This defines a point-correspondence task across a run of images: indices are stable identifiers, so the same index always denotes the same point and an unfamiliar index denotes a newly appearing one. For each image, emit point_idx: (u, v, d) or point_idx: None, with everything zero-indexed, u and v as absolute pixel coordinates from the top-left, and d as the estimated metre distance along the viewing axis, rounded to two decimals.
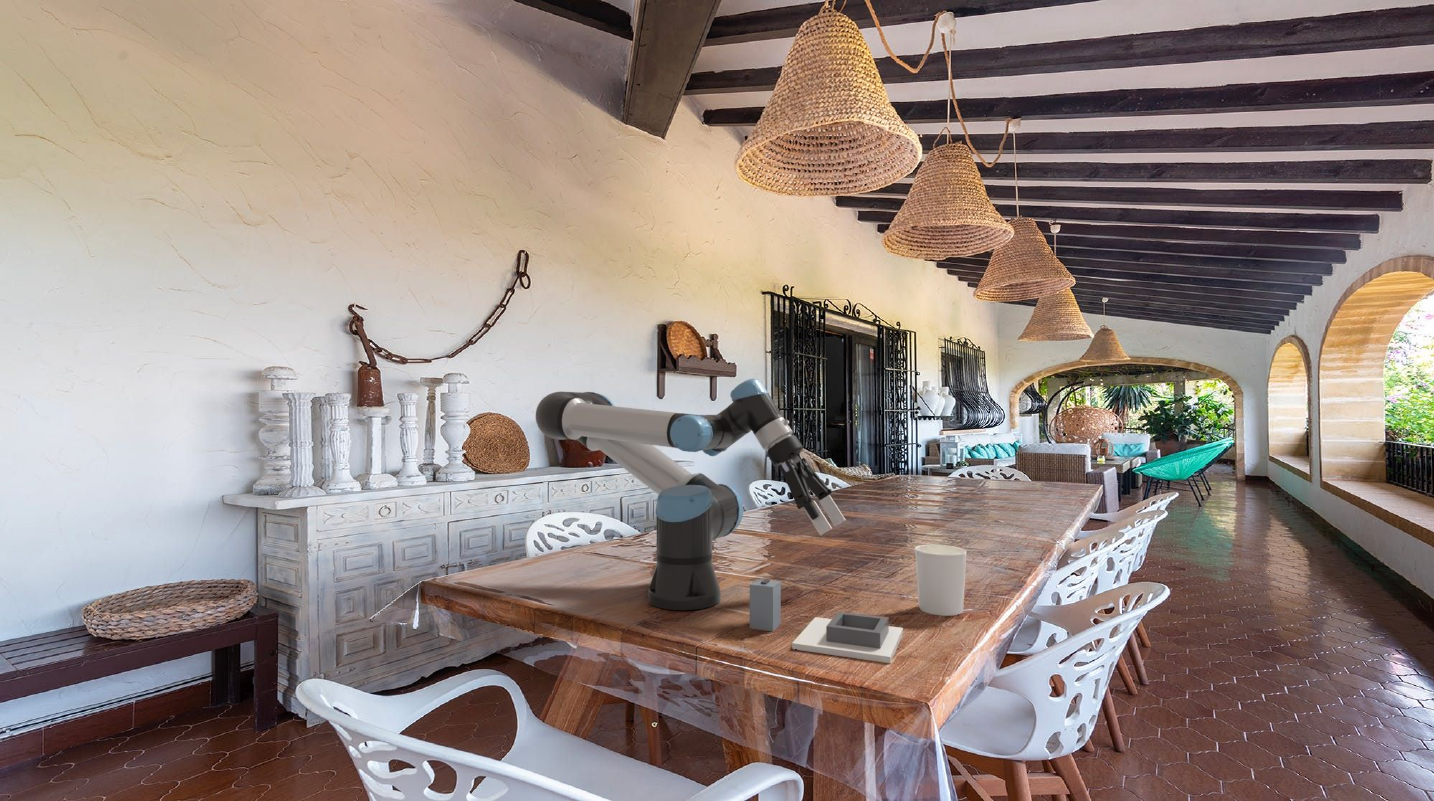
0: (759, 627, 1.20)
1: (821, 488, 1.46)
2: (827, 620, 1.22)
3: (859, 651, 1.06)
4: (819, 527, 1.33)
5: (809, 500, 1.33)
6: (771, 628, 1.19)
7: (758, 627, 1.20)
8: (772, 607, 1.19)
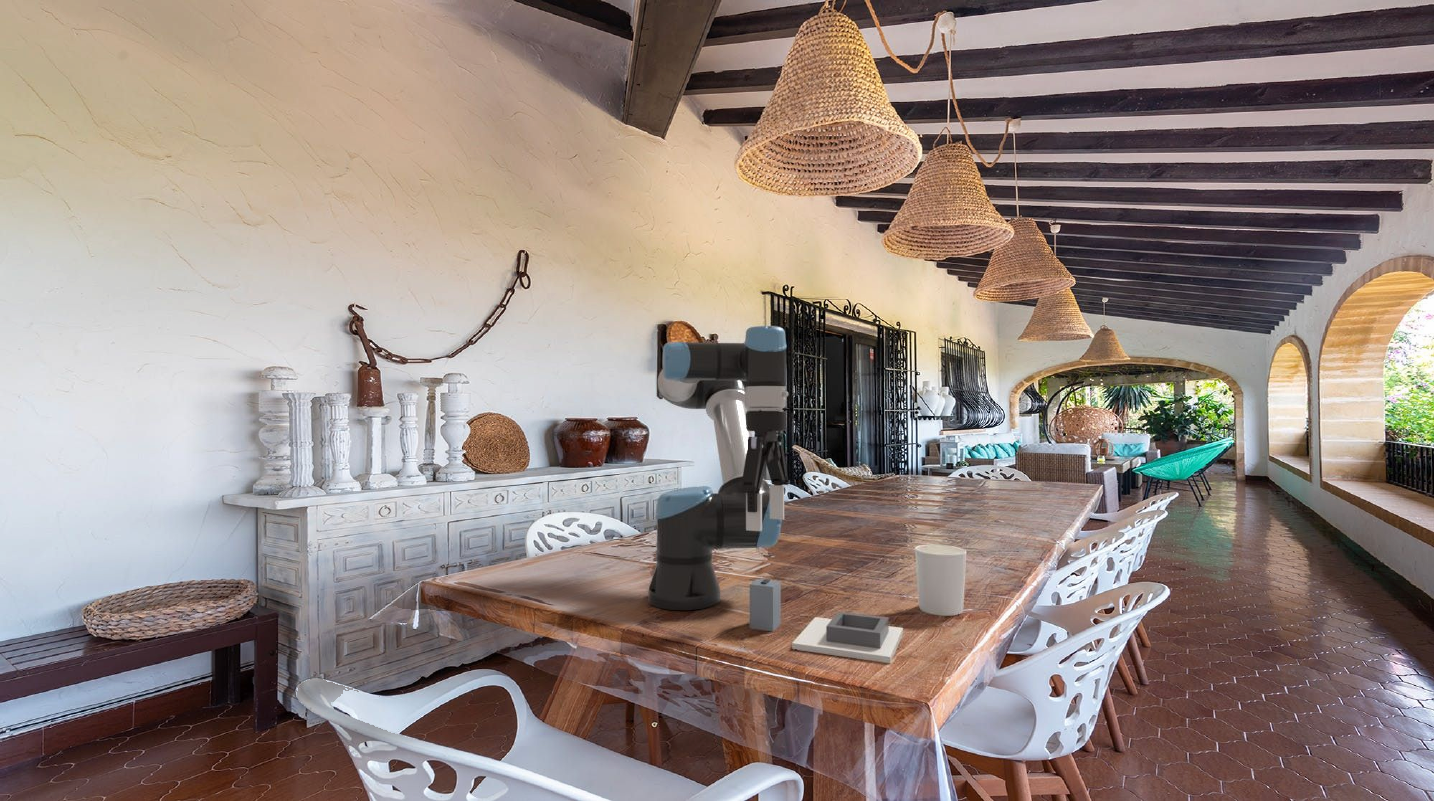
0: (759, 627, 1.20)
1: (779, 475, 1.28)
2: (827, 620, 1.22)
3: (859, 651, 1.06)
4: (750, 522, 1.16)
5: (756, 491, 1.15)
6: (771, 628, 1.19)
7: (758, 627, 1.20)
8: (772, 607, 1.19)
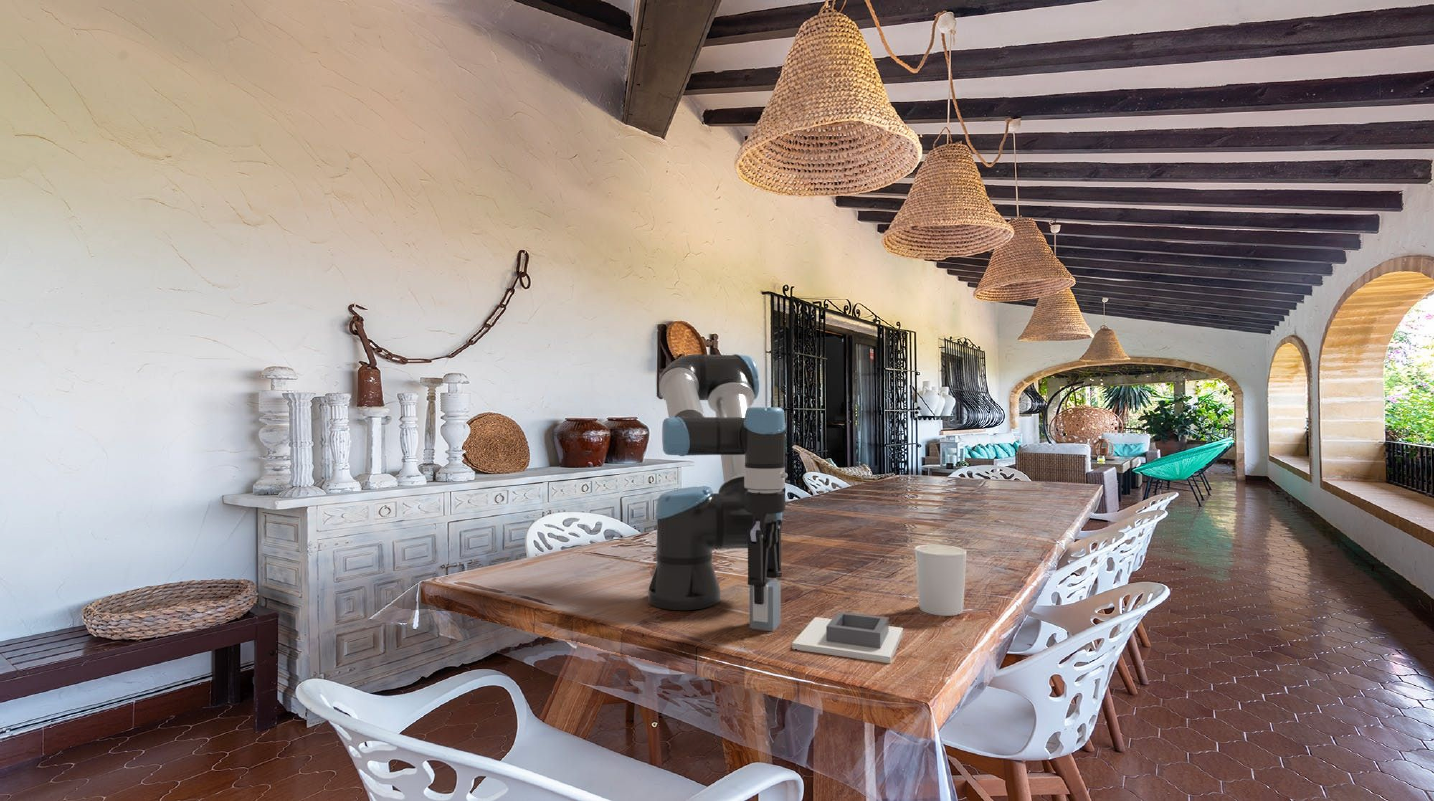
0: (759, 627, 1.20)
1: (773, 564, 1.24)
2: (827, 620, 1.22)
3: (859, 651, 1.06)
4: (756, 612, 1.20)
5: (763, 585, 1.18)
6: (771, 628, 1.19)
7: (758, 627, 1.20)
8: (772, 607, 1.19)
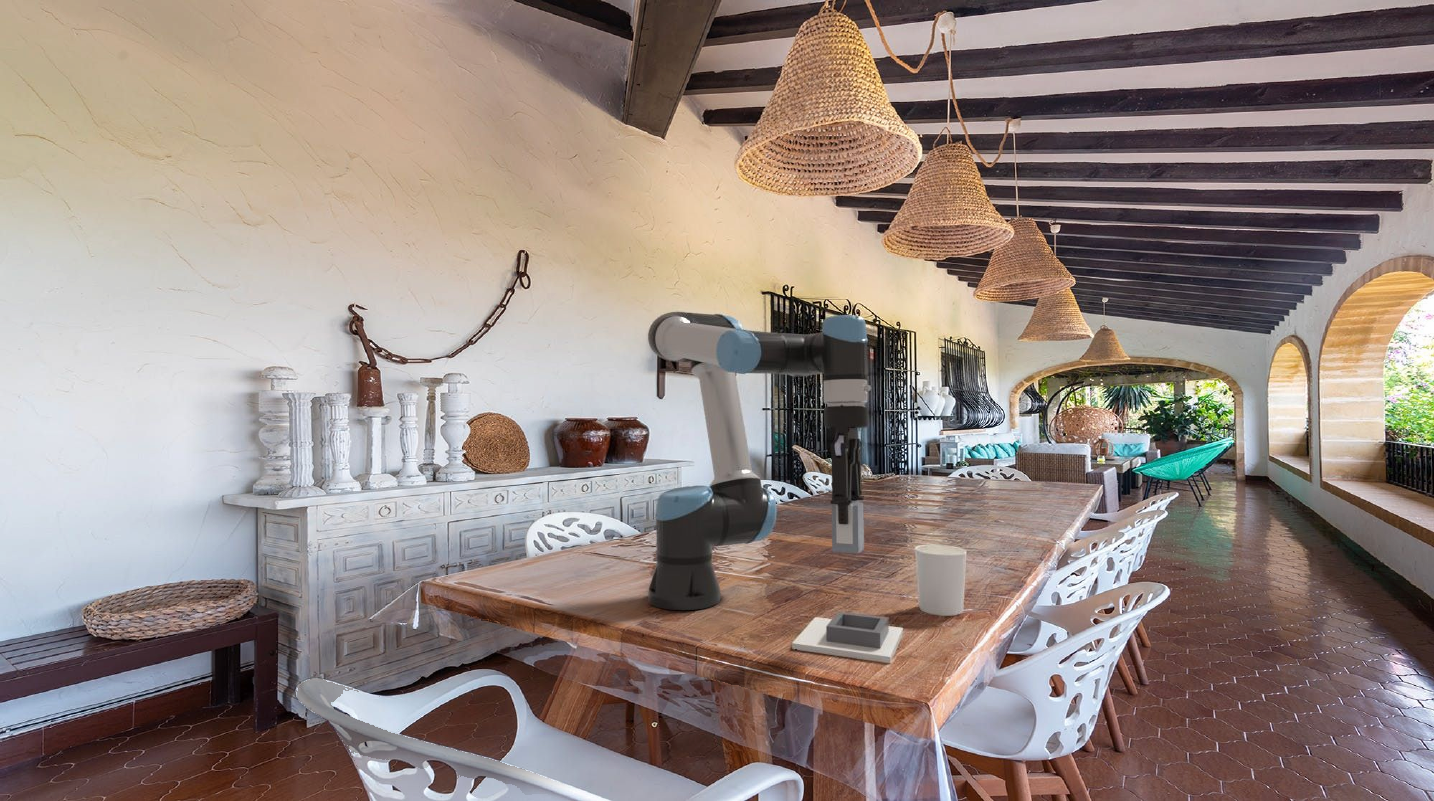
0: (843, 550, 1.12)
1: (855, 485, 1.16)
2: (827, 620, 1.22)
3: (859, 651, 1.06)
4: (840, 534, 1.11)
5: (848, 504, 1.10)
6: (856, 550, 1.11)
7: (842, 550, 1.12)
8: (857, 527, 1.11)
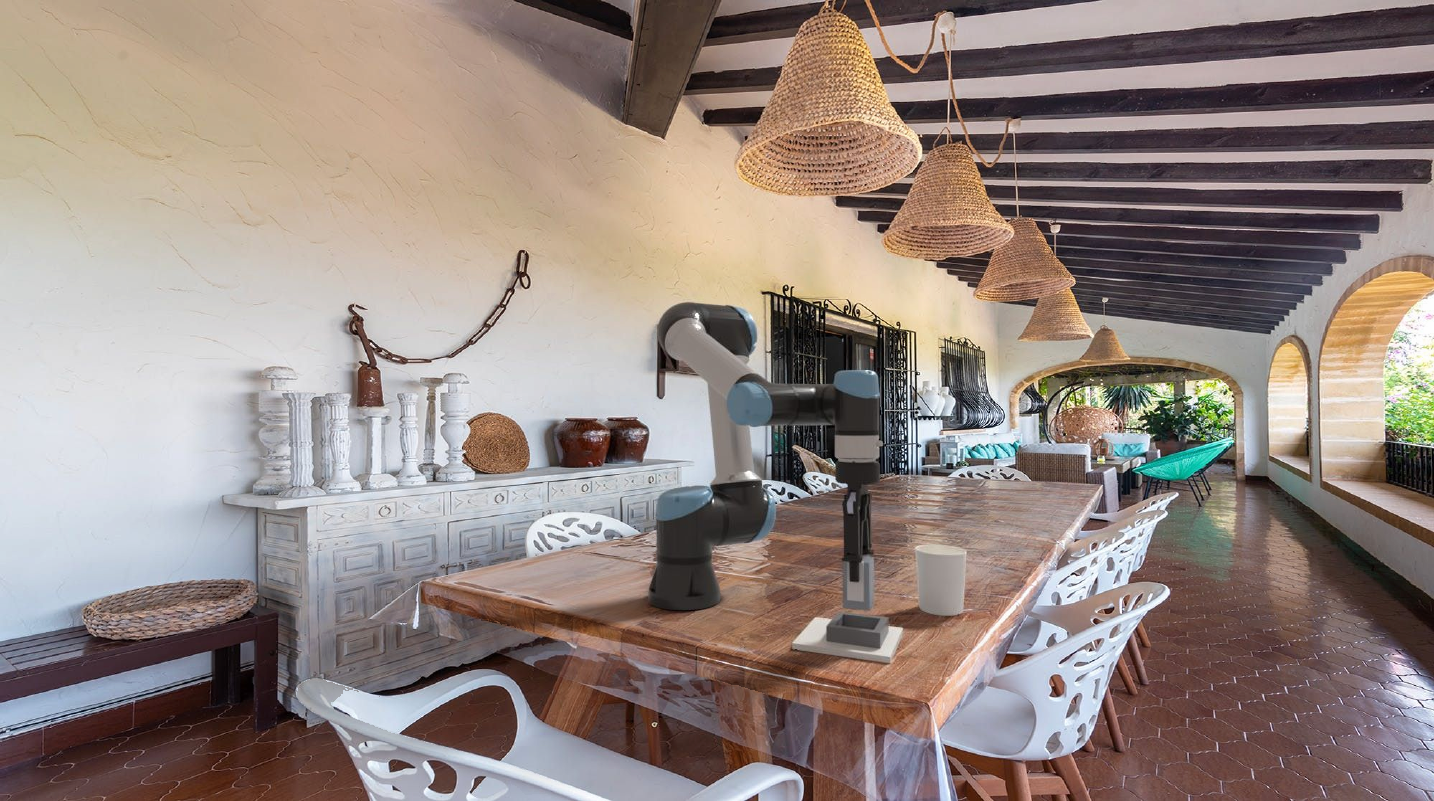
0: (854, 607, 1.11)
1: (866, 540, 1.15)
2: (827, 620, 1.22)
3: (859, 651, 1.06)
4: (851, 591, 1.11)
5: (859, 562, 1.09)
6: (867, 607, 1.10)
7: (852, 607, 1.11)
8: (868, 585, 1.10)
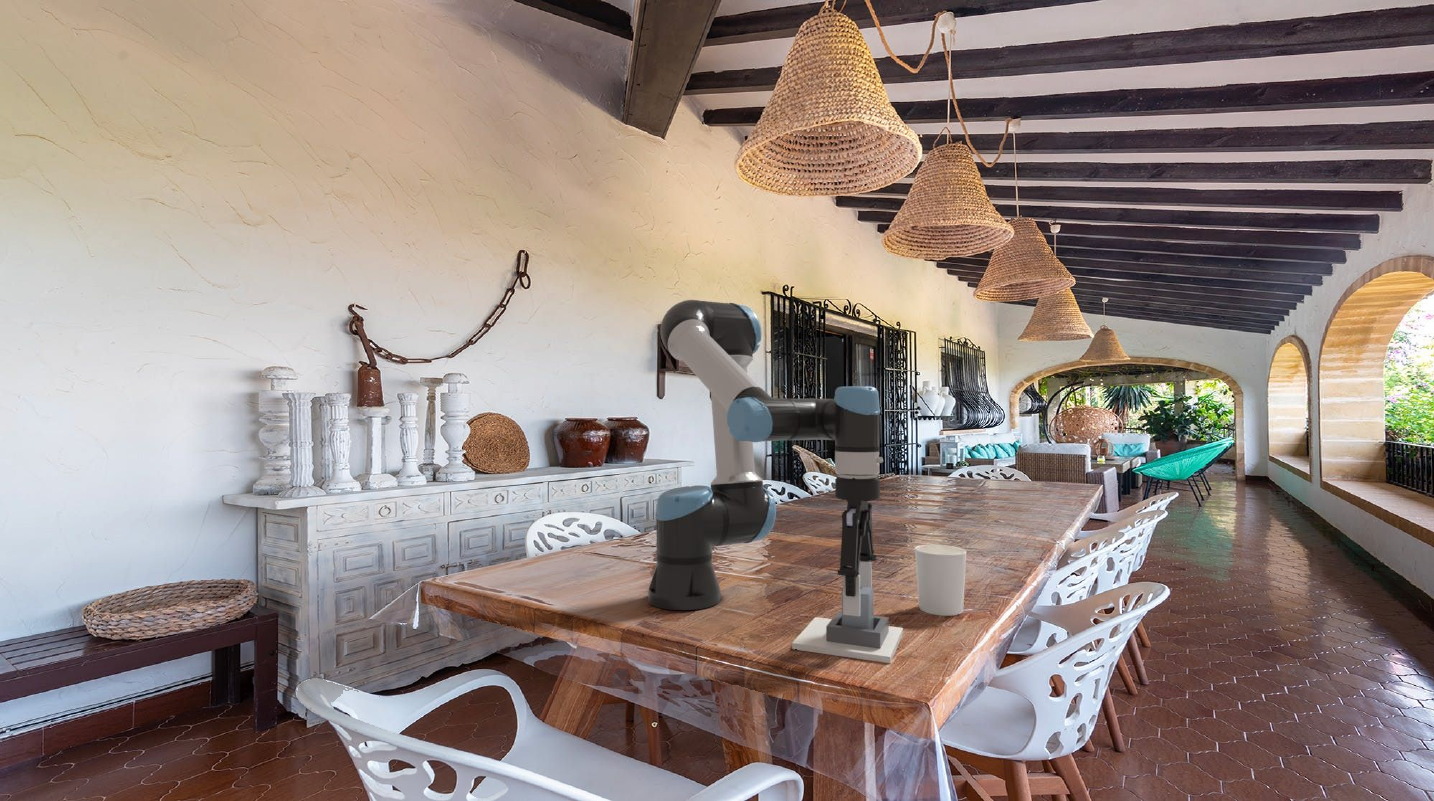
0: None
1: (867, 549, 1.17)
2: (827, 620, 1.22)
3: (859, 651, 1.06)
4: (847, 606, 1.08)
5: (855, 575, 1.07)
6: None
7: None
8: (868, 616, 1.10)
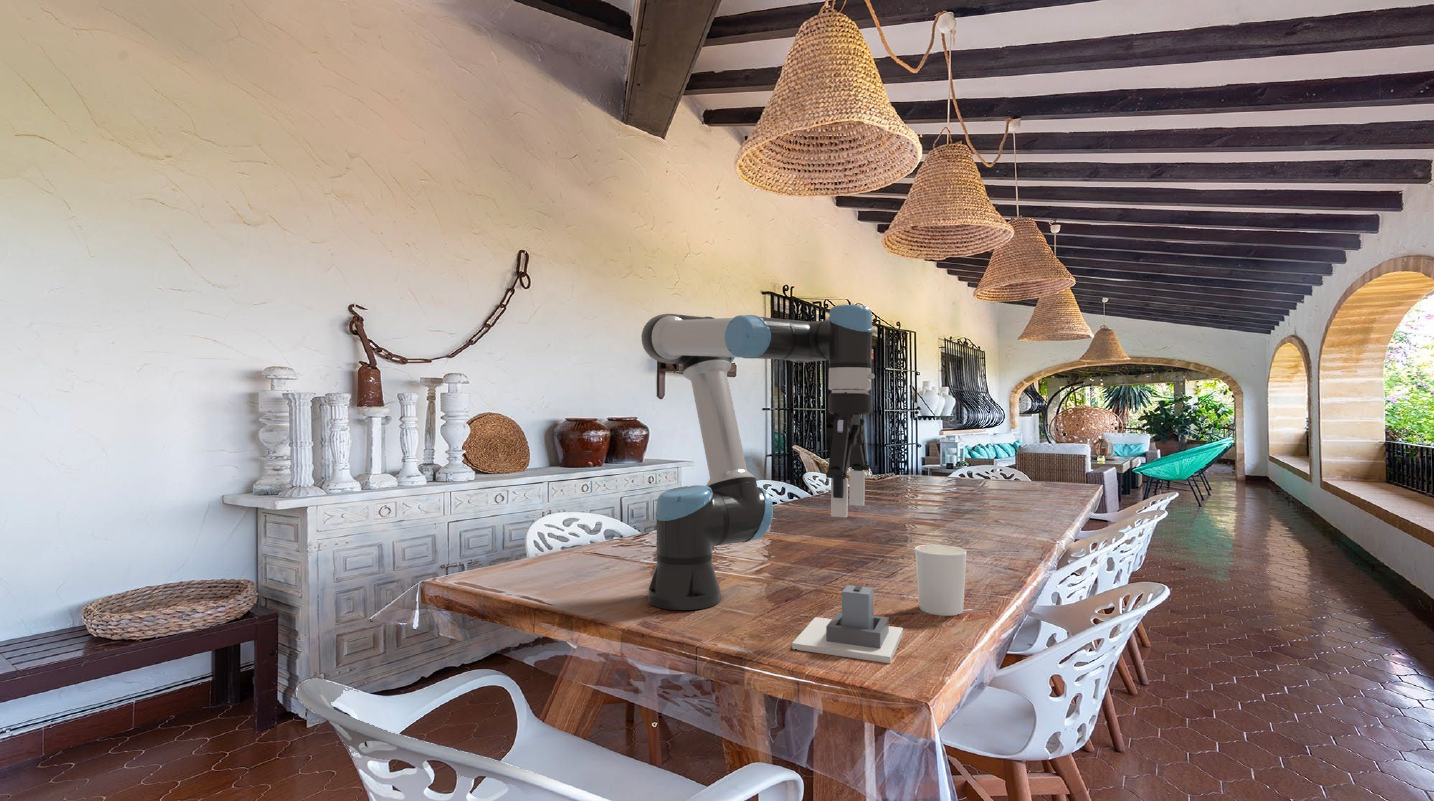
0: None
1: (861, 460, 1.23)
2: (827, 620, 1.22)
3: (859, 651, 1.06)
4: (835, 508, 1.12)
5: (843, 476, 1.11)
6: None
7: None
8: (868, 616, 1.10)
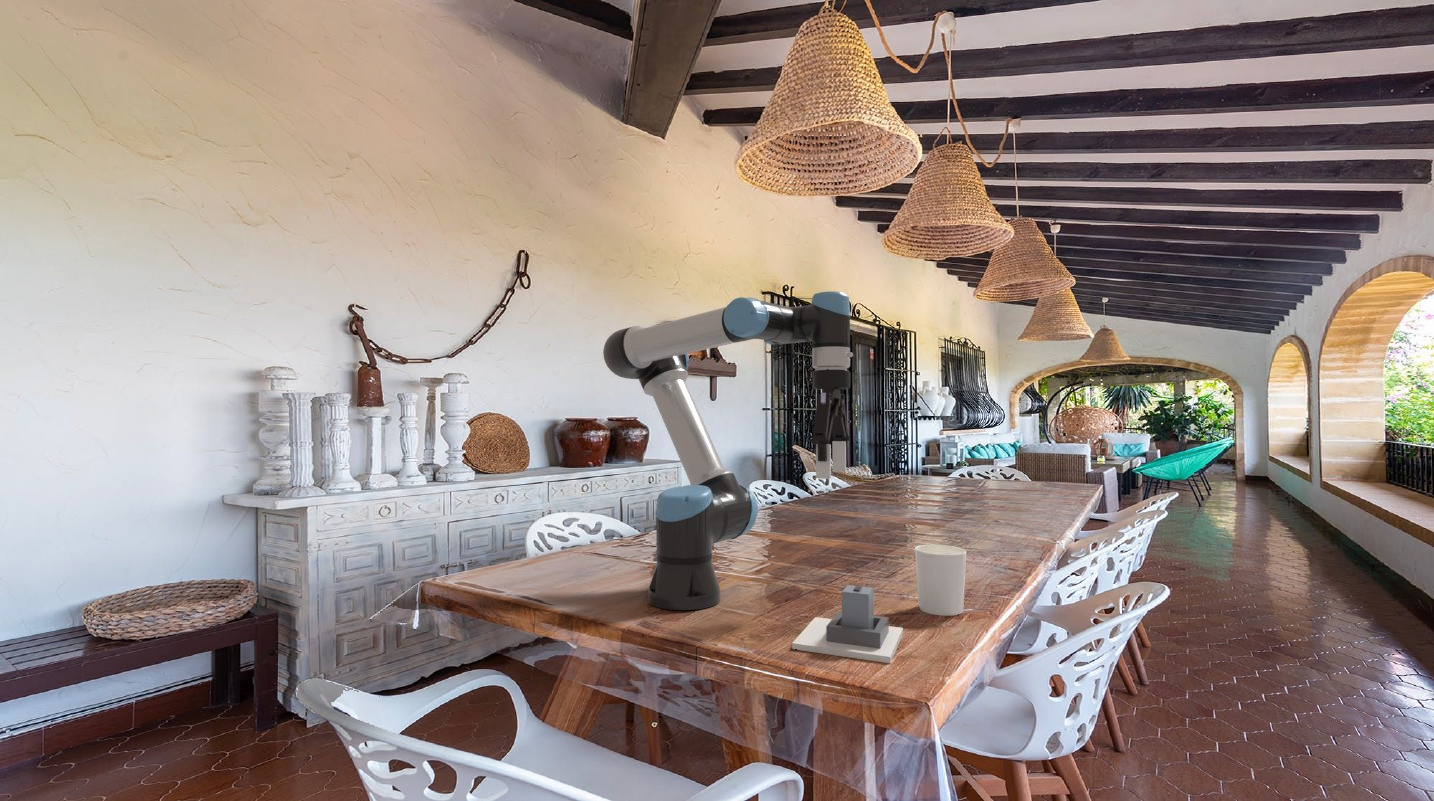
0: None
1: (842, 432, 1.38)
2: (827, 620, 1.22)
3: (859, 651, 1.06)
4: (819, 470, 1.26)
5: (826, 442, 1.25)
6: None
7: None
8: (868, 616, 1.10)
